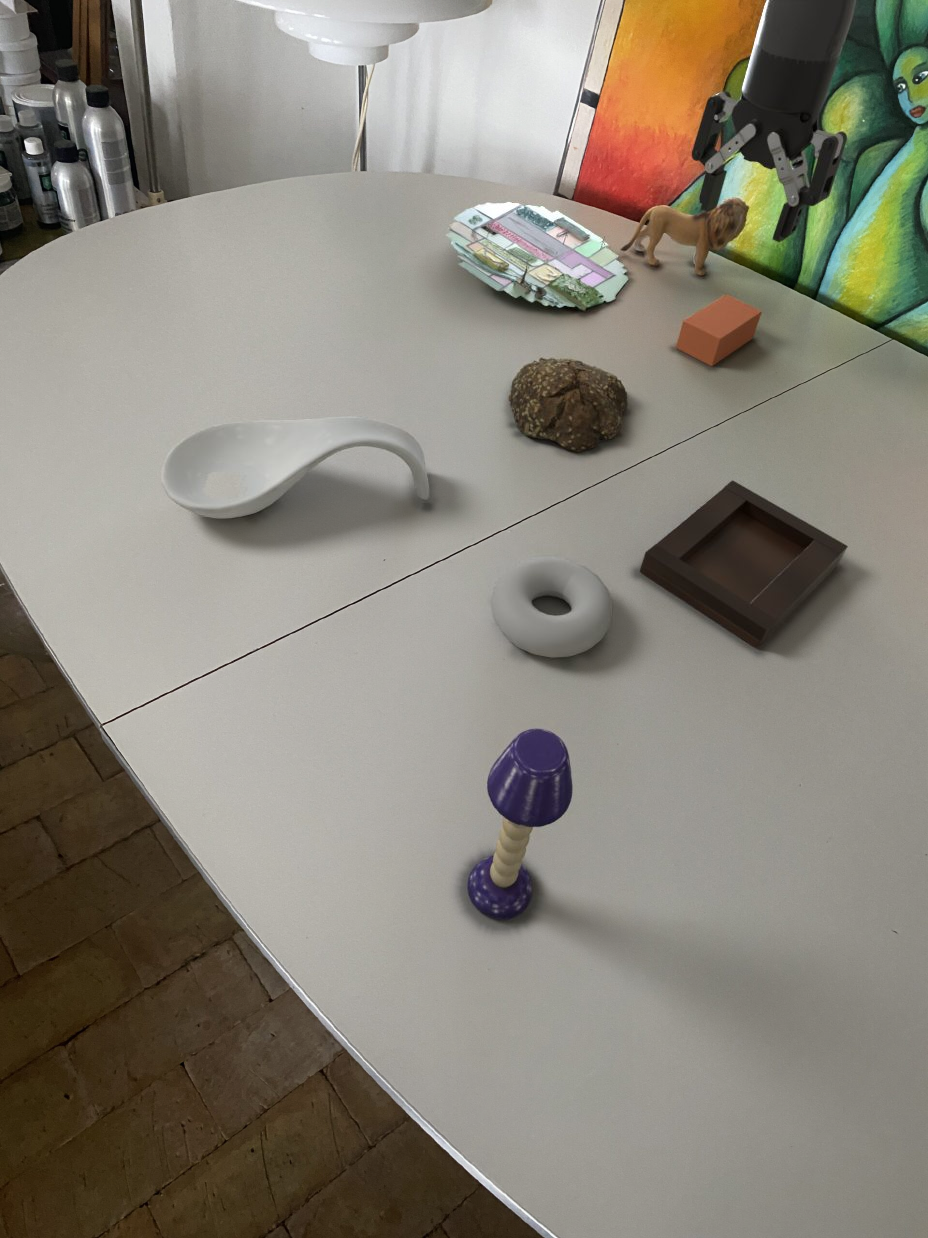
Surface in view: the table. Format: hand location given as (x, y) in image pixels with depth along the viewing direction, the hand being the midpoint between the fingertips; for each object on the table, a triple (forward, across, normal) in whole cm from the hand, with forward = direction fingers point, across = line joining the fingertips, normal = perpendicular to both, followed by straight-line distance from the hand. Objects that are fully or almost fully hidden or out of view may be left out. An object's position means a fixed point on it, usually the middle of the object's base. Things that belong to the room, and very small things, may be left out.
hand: (743, 223), depth 90 cm
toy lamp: (+15, -26, +65) cm, 72 cm away
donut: (+15, -14, +45) cm, 49 cm away
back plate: (+15, -22, +28) cm, 38 cm away
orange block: (+15, 0, -2) cm, 15 cm away
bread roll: (+15, +3, +22) cm, 27 cm away
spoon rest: (+15, +12, +50) cm, 53 cm away
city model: (+15, +25, +1) cm, 29 cm away
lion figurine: (+15, +14, -15) cm, 25 cm away
